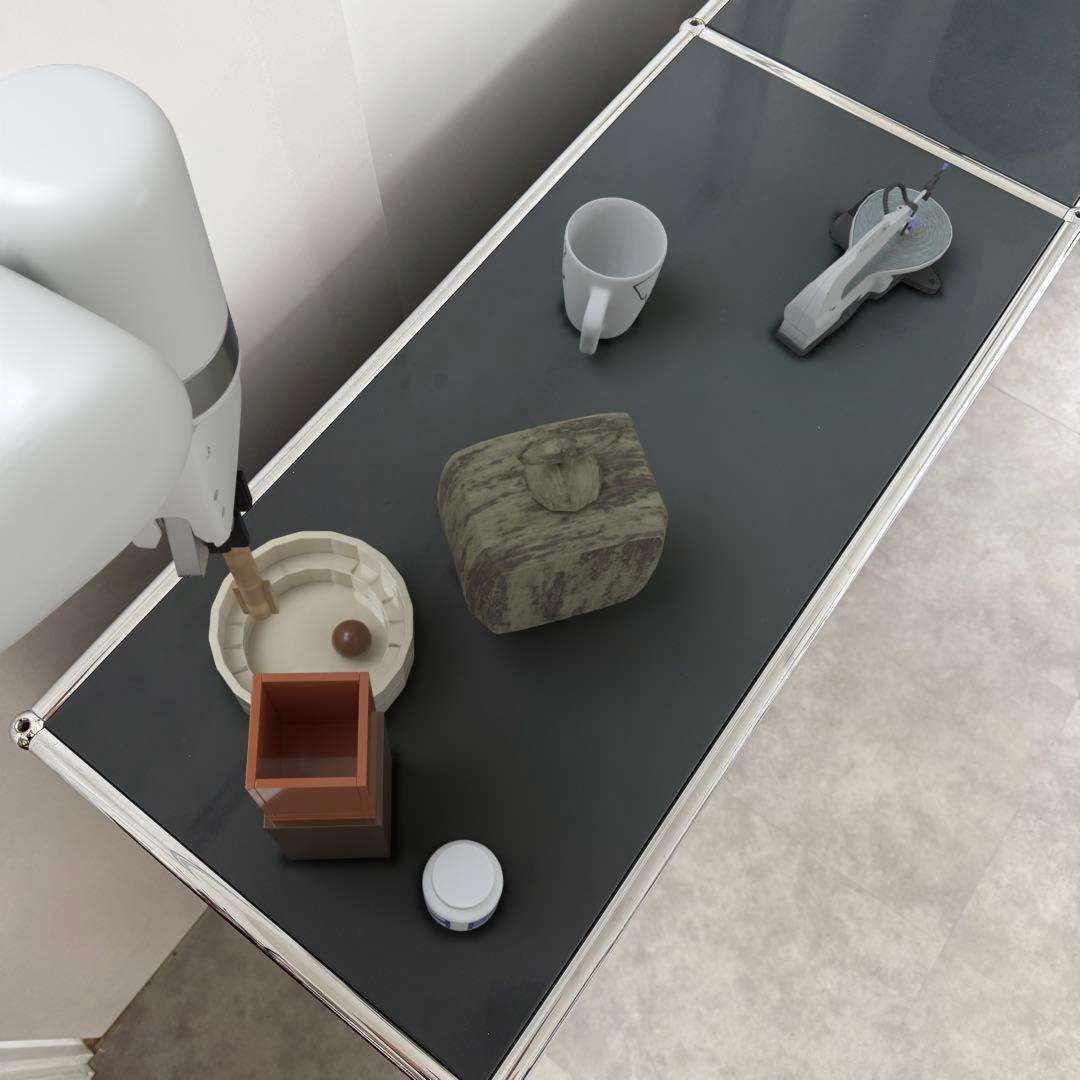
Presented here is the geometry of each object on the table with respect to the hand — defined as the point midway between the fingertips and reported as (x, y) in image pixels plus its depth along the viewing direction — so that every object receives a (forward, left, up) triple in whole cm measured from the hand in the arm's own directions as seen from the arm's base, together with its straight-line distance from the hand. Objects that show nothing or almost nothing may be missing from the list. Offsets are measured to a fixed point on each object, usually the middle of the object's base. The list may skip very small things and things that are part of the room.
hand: (223, 523), depth 63 cm
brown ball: (+6, 0, -20) cm, 21 cm away
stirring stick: (0, 0, -15) cm, 15 cm away
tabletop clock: (+20, +5, -22) cm, 31 cm away
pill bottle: (+14, -18, -22) cm, 32 cm away
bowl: (+3, 0, -22) cm, 22 cm away
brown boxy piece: (+5, -12, -22) cm, 26 cm away
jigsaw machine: (+51, +34, -22) cm, 65 cm away
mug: (+26, +30, -22) cm, 46 cm away
